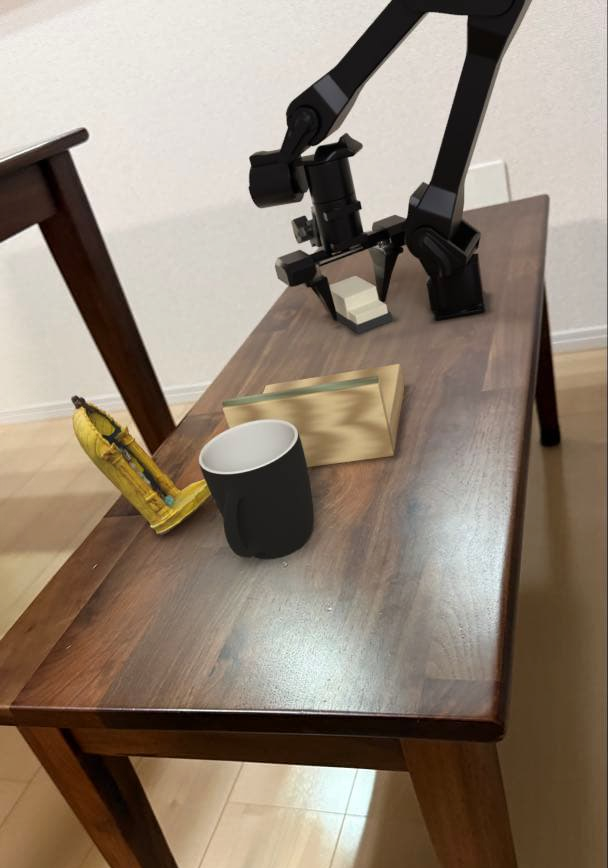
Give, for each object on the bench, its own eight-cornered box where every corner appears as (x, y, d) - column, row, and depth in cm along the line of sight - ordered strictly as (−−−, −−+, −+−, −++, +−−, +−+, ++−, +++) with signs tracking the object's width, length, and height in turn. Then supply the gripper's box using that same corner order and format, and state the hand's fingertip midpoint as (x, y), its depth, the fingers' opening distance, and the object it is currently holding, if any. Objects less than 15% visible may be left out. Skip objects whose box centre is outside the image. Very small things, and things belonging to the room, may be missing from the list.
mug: (252, 511, 83) (221, 421, 77) (337, 509, 79) (311, 415, 74) (204, 591, 74) (165, 496, 68) (298, 592, 71) (265, 492, 65)
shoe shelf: (404, 387, 97) (390, 316, 92) (393, 456, 85) (376, 379, 80) (272, 407, 101) (252, 341, 96) (245, 475, 89) (220, 403, 84)
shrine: (106, 552, 84) (43, 420, 75) (138, 505, 90) (83, 378, 81) (210, 546, 80) (155, 406, 71) (236, 497, 86) (188, 363, 78)
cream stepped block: (362, 302, 122) (356, 274, 120) (392, 320, 114) (386, 290, 111) (330, 314, 122) (323, 287, 119) (357, 334, 113) (351, 304, 111)
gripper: (373, 166, 116) (394, 275, 125) (249, 210, 114) (279, 319, 122) (408, 175, 107) (428, 292, 116) (274, 223, 104) (305, 340, 113)
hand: (358, 310), depth 117 cm, fingers open, 7 cm apart
